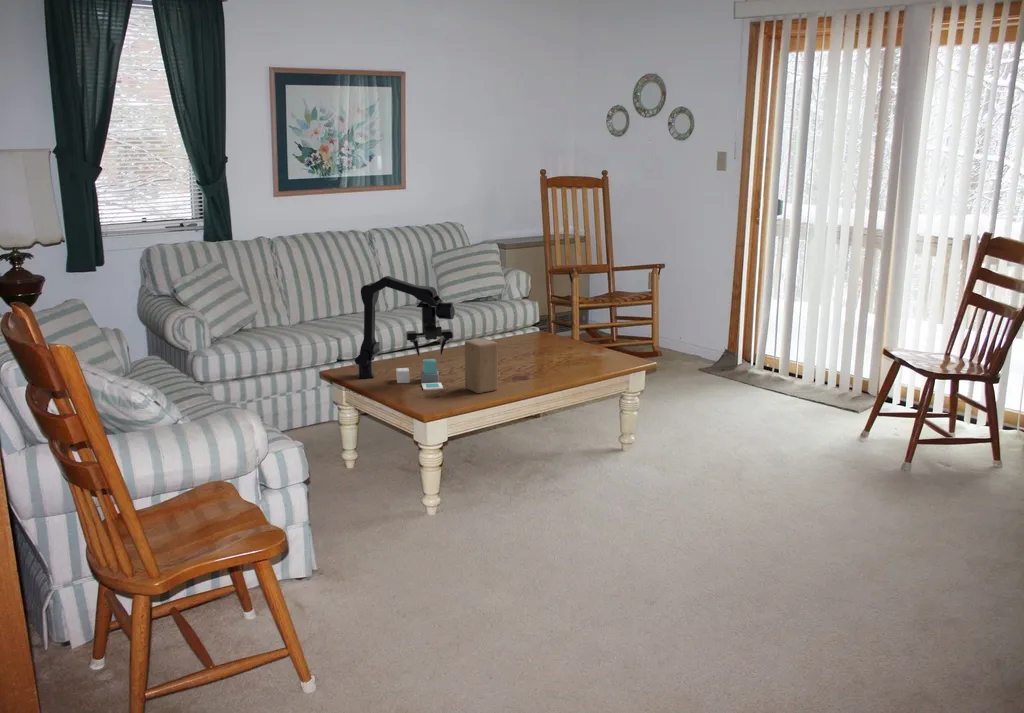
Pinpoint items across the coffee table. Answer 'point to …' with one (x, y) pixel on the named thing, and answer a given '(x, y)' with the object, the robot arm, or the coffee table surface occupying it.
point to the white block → (402, 375)
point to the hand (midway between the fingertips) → (429, 355)
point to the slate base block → (429, 377)
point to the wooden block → (481, 365)
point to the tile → (432, 386)
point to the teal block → (429, 366)
